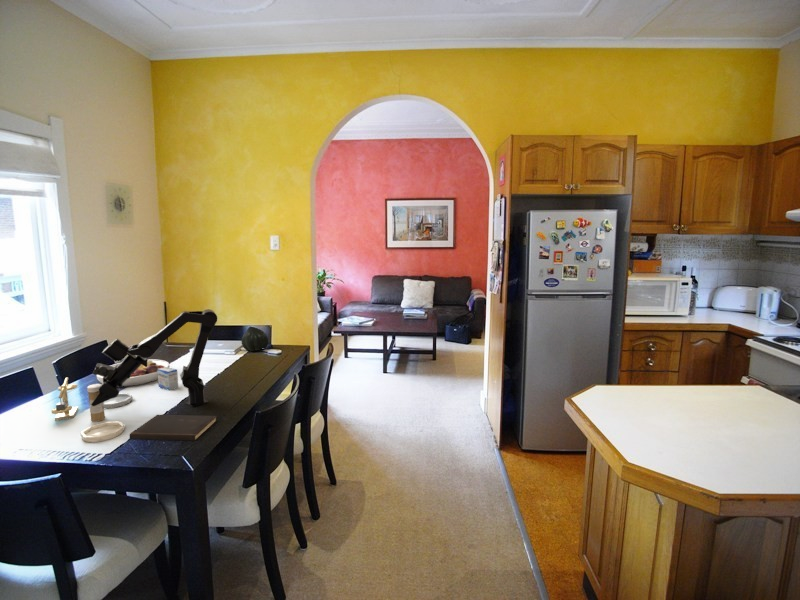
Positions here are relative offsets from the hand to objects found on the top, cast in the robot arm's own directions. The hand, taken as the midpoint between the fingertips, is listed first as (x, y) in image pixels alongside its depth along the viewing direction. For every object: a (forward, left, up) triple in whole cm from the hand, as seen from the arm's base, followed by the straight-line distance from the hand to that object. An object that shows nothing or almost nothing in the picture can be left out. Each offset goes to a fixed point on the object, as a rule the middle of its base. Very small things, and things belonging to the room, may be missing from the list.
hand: (94, 401), depth 161 cm
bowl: (+42, -27, -8) cm, 51 cm away
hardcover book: (-30, -16, -8) cm, 35 cm away
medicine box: (+16, -32, -8) cm, 36 cm away
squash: (+43, -92, -8) cm, 102 cm away
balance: (+14, +6, -7) cm, 17 cm away
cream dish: (-15, +2, -7) cm, 17 cm away
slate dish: (+14, -10, -7) cm, 19 cm away
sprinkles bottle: (0, -1, -8) cm, 8 cm away
